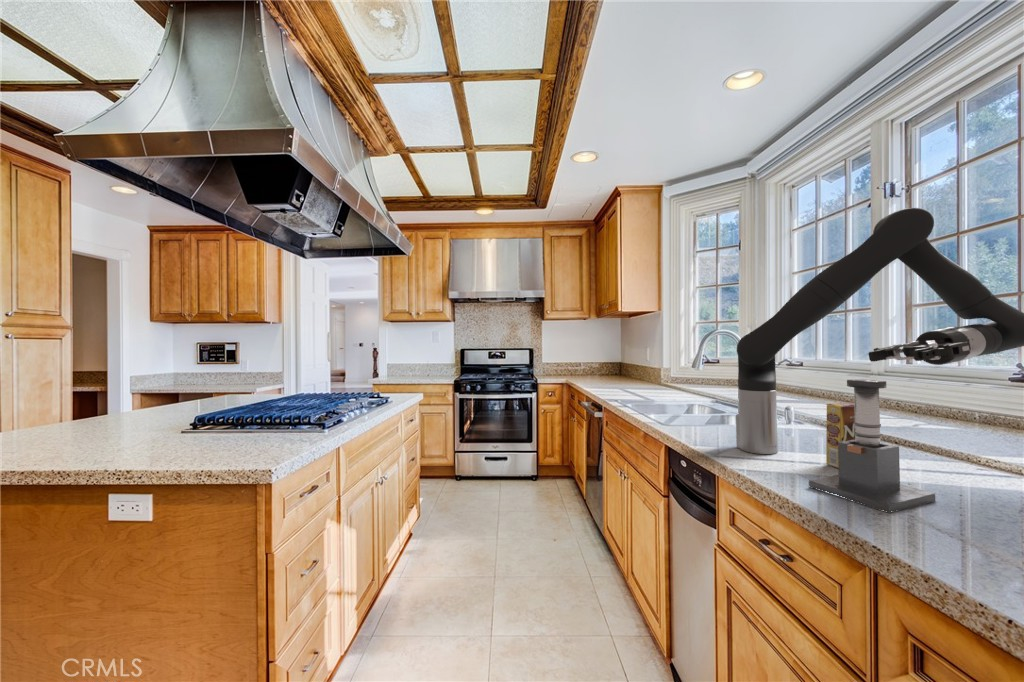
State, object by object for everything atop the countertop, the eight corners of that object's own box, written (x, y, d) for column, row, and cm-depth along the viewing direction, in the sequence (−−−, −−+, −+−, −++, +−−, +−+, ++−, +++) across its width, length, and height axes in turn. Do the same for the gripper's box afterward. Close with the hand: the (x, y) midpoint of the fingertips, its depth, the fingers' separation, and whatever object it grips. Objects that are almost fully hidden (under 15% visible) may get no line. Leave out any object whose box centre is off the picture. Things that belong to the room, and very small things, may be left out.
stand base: (809, 487, 86) (807, 440, 86) (852, 478, 91) (851, 433, 91) (889, 513, 73) (887, 457, 73) (935, 501, 77) (934, 448, 77)
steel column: (842, 483, 84) (839, 380, 84) (861, 479, 86) (858, 378, 86) (876, 493, 78) (873, 382, 78) (896, 488, 80) (893, 381, 80)
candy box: (842, 470, 97) (840, 405, 97) (825, 464, 101) (824, 403, 101) (874, 467, 98) (872, 404, 98) (857, 462, 102) (855, 401, 102)
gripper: (909, 331, 96) (854, 341, 93) (990, 324, 82) (929, 336, 79) (915, 362, 96) (860, 373, 93) (997, 361, 82) (936, 374, 79)
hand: (892, 356), depth 86 cm, fingers open, 8 cm apart
